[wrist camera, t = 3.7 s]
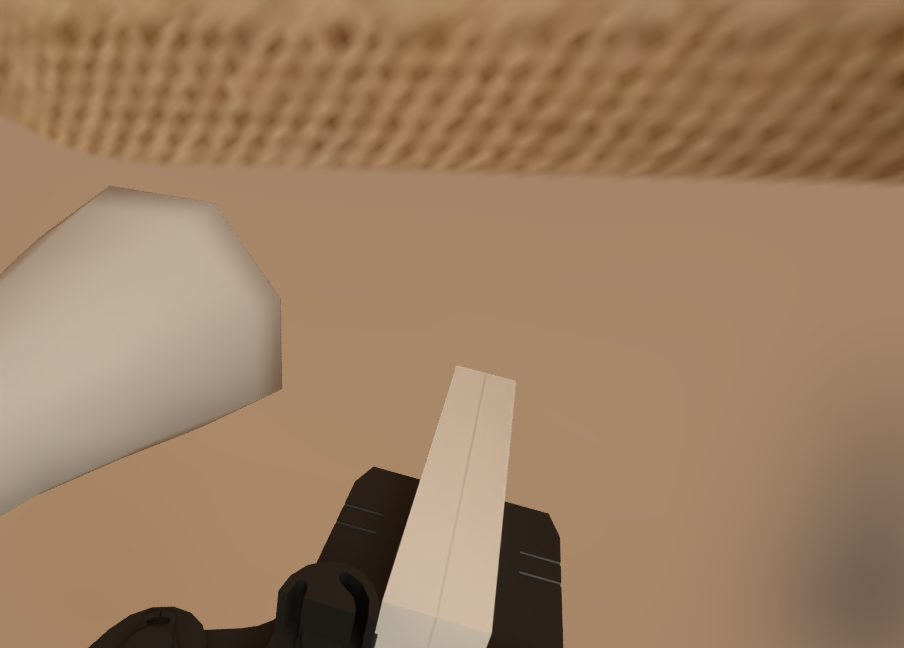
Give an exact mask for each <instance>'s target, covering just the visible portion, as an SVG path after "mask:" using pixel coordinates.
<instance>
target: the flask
mask: <svg viewBox="0 0 904 648" xmlns="http://www.w3.org/2000/svg"><path fill="white" fill-rule="evenodd" d="M281 389H282V362H281V298H280V297H279V295H278V294H277V292H276V291H275V290H274V288H273V287H272V285H271V284H270V282H269V281H268V280H267V278H266V277H265V275H264V274H263V272H262V271H261V269H260V268H259V267H258V265H257V264H256V262H255V261H254V259H253V258H252V256H251V255H250V254H249V252H248V251H247V249H246V248H245V246H244V245H243V243H242V242H241V241H240V239H239V238H238V236H237V235H236V233H235V232H234V231H233V229H232V228H231V226H230V225H229V223H228V222H227V220H226V219H225V218H224V216H223V215H222V213H221V212H220V210H219V209H218V208H217V206H216V205H215V203H211V202H204V201H198V200H192V199H186V198H180V197H174V196H168V195H162V194H156V193H150V192H144V191H138V190H132V189H125V188H120V187H114V186H109V187H107V188H106V189H105V190H103V191H102V192H101V193H99V194H98V195H97V196H95V197H94V198H92V199H91V200H90V201H88V202H87V203H86V204H84V205H83V206H82V207H80V208H79V209H78V210H76V211H75V212H74V213H72V214H71V215H69V216H68V217H67V218H65V219H64V220H63V221H61V222H60V223H59V224H57V225H56V226H55V227H53V228H52V229H51V230H49V231H48V232H47V233H45V234H44V235H42V236H41V237H40V238H39V239H38V240H37V241H35V242H34V243H33V244H32V245H31V246H30V247H29V248H28V249H26V250H25V251H24V252H23V253H22V254H21V255H20V256H19V257H18V258H17V259H16V260H15V261H14V262H13V263H11V264H10V266H8V267H7V268H6V269H5V270H4V271H3V272H2V273H1V274H0V516H1V515H3V514H5V513H6V512H8V511H10V510H12V509H13V508H15V507H17V506H18V505H20V504H22V503H24V502H25V501H27V500H29V499H30V498H32V497H34V496H36V495H38V494H40V493H43V492H45V491H47V490H50V489H52V488H54V487H57V486H59V485H61V484H64V483H66V482H68V481H70V480H73V479H75V478H77V477H80V476H82V475H84V474H86V473H89V472H91V471H93V470H96V469H98V468H100V467H102V466H105V465H107V464H109V463H112V462H114V461H116V460H119V459H121V458H124V457H126V456H129V455H131V454H134V453H136V452H139V451H142V450H144V449H147V448H149V447H151V446H154V445H157V444H160V443H162V442H165V441H167V440H170V439H172V438H175V437H177V436H180V435H182V434H185V433H188V432H190V431H192V430H194V429H197V428H199V427H202V426H204V425H206V424H209V423H211V422H213V421H215V420H217V419H219V418H221V417H224V416H226V415H228V414H230V413H232V412H234V411H236V410H238V409H241V408H242V407H245V406H247V405H249V404H251V403H253V402H255V401H257V400H260V399H262V398H264V397H265V396H268V395H270V394H272V393H274V392H276V391H278V390H281Z"/></svg>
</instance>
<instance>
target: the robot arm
mask: <svg viewBox="0 0 904 648" xmlns="http://www.w3.org/2000/svg"><path fill="white" fill-rule="evenodd" d="M515 390H516V381H514V380H511V379H507V378H503V377H499V376H496V375H492V374H488V373H484V372H480V371H477V370H473V369H469V368H465V367H462V366H458V365H456V368H455V371H454V374H453V377H452V380H451V384H450V387H449V390H448V393H447V396H446V400H445V403H444V406H443V409H442V413H441V416H440V419H439V422H438V425H437V428H436V431H435V435H434V438H433V441H432V444H431V447H430V451H429V454H428V457H427V460H426V463H425V466H424V470H423V473H422V476H421V479H416V478H413V477H409V476H405V475H402V474H398V473H395V472H391V471H387V470H384V469H380V468H377V467H373V468H371V469H370V470H369V471H368V472H367V473H365V474H364V475H363V476H362V477H360V478H359V479H358V480H356V481H355V483H354V485H353V487H352V489H351V491H350V494H349V496H348V498H347V500H346V502H345V505H344V507H343V508H342V510H341V513H340V515H339V517H338V519H337V522H336V524H335V525H334V527H333V529H332V531H331V534H330V536H329V538H328V540H327V542H326V544H325V546H324V548H323V550H322V553H321V555H320V557H319V559H318V561H317V563H316V564H311V565H307V566H305V567H304V568H302V569H300V570H299V571H297V572H296V573H294V574H292V575H291V576H290V577H289V578H288V579H287V581H286V582H285V583H284V585H283V586H282V587H281V588H280V590H279V592H278V603H277V612H276V619H274V620H272V621H270V622H267V623H265V624H262V625H259V626H254V627H248V628H239V629H216V630H204V629H203V625H202V624H201V623H200V622H199V621H198V620H197V619H196V618H195V617H194V616H193V615H192V614H191V613H190V612H187V611H184V610H181V609H178V608H176V607H153V608H149V609H146V610H143V611H141V612H138V613H135V614H132V615H130V616H128V617H127V618H125V619H124V620H122V621H121V622H119V623H118V624H116V625H115V626H113V627H112V628H110V629H109V630H108V631H107V632H106V633H104V634H103V635H102V636H101V637H100V638H99V639H98V640H97V641H96V642H94V643H93V644H92V645H91V646H90V647H89V648H563V626H562V594H561V587H560V584H561V566H560V561H561V560H560V537H559V535H558V532H557V530H556V528H555V526H554V524H553V522H552V520H551V518H550V516H549V514H548V513H544V512H541V511H537V510H533V509H529V508H526V507H522V506H519V505H515V504H512V503H508V502H505V492H506V482H507V472H508V461H509V450H510V441H511V431H512V421H513V410H514V400H515Z"/></svg>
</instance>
